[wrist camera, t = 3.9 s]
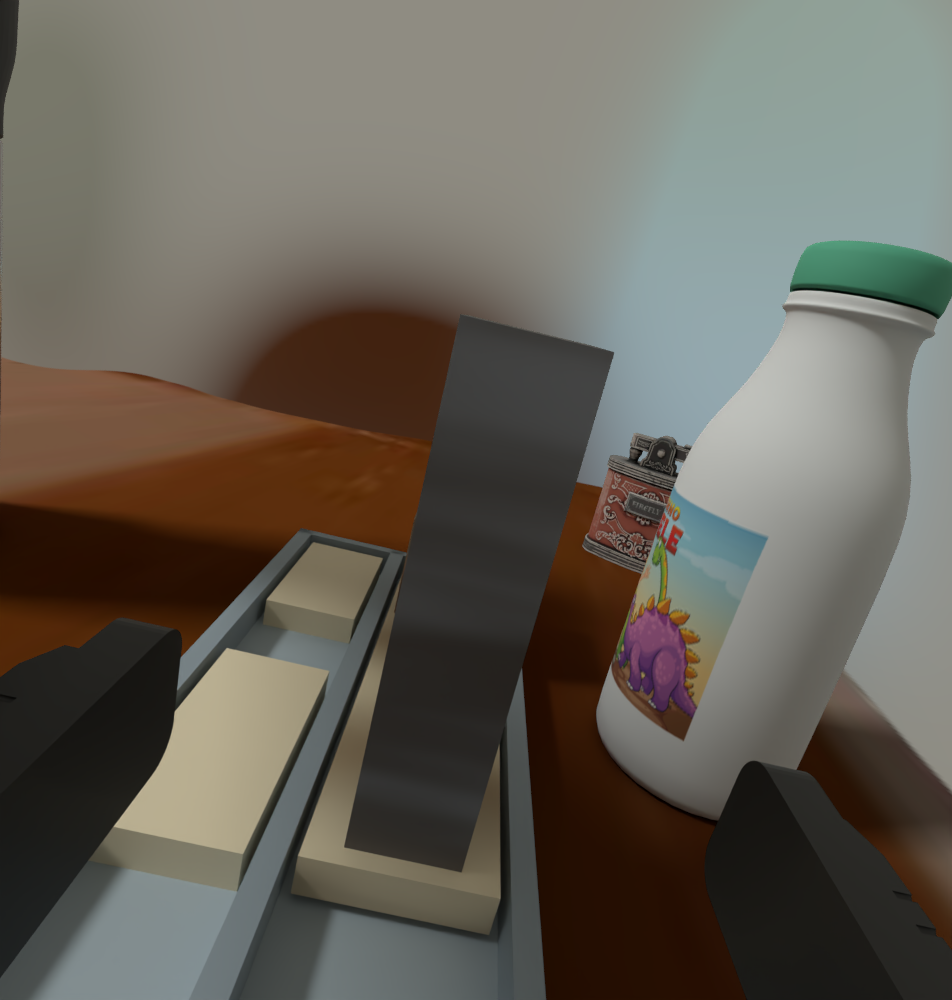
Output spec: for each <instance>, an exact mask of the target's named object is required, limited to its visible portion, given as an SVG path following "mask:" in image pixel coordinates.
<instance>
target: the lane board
mask: <svg viewBox="0 0 952 1000" xmlns="http://www.w3.org/2000/svg"><path fill="white" fill-rule="evenodd" d="M406 555H407V553H406V552H401V551H397V550H393V549H388V548H384V547H380V546H375V545H371V544H367V543H362V542H358V541H354V540H349V539H345V538H341V537H336V536H332V535H328V534H324V533H319V532H315V531H311V530H306V529H302V528H301V529H300V530H299V531H298V532H297V533H296V535H295V536H294V537H293V538H292V539H291V540H290V541H289V542H288V543H287V544H286V545H285V546H284V547H283V549H282V550H281V551H280V552H279V553H278V554H277V555H276V556H275V557H274V558H273V559H272V560H271V561H270V563H269V564H268V565H267V566H266V567H265V568H264V569H263V570H262V571H261V572H260V573H259V574H258V575H257V577H256V578H255V579H254V580H253V581H252V582H251V583H250V584H249V585H248V586H247V587H246V588H245V589H244V591H243V592H242V593H241V594H240V595H239V596H238V597H237V598H236V599H235V600H234V601H233V602H232V603H231V604H230V606H229V607H228V608H227V609H226V610H225V611H224V612H223V613H222V614H221V615H220V616H219V617H218V618H217V620H216V621H215V622H214V623H213V624H212V625H211V626H210V627H209V628H208V629H207V630H206V631H205V632H204V634H203V635H202V636H201V637H200V638H199V639H198V640H197V641H196V642H195V643H194V644H193V645H192V646H191V648H190V649H189V650H188V651H187V652H186V653H185V654H184V655H183V656H182V657H181V659H180V668H179V677H178V687H177V696H176V705H175V715H174V723H173V729H172V733H171V737H170V740H169V743H168V746H167V748H166V751H165V753H164V755H163V757H162V760H161V761H160V763H159V765H158V767H157V769H156V770H155V772H154V773H153V775H152V776H151V777H150V779H149V780H148V781H147V783H146V784H145V785H144V787H143V788H142V789H141V791H140V792H139V793H138V795H137V796H136V797H135V799H134V800H133V801H132V803H131V804H130V805H129V807H128V808H127V809H126V811H125V812H124V813H123V815H122V816H121V817H120V819H119V820H118V821H117V823H116V824H115V825H114V827H113V828H112V829H111V831H110V832H109V834H108V835H107V836H106V838H105V839H104V840H103V842H102V843H101V844H100V846H99V847H98V848H97V850H96V851H95V852H94V854H93V855H92V856H91V858H90V859H89V860H88V862H87V863H86V864H85V866H84V867H83V868H82V870H81V871H80V872H79V874H78V875H77V876H76V878H75V879H74V880H73V882H72V883H71V884H70V886H69V887H68V888H67V890H66V891H65V892H64V894H63V895H62V896H61V898H60V899H59V900H58V902H57V903H56V904H55V906H54V907H53V908H52V910H51V911H50V912H49V914H48V915H47V916H46V918H45V919H44V920H43V922H42V923H41V924H40V926H39V927H38V928H37V930H36V931H35V932H34V934H33V935H32V936H31V938H30V939H29V940H28V942H27V943H26V944H25V946H24V947H23V948H22V950H21V951H20V952H19V954H18V955H17V957H16V958H15V959H14V961H13V962H12V963H11V965H10V966H9V967H8V969H7V970H6V971H5V973H4V974H3V975H2V977H1V978H0V1000H546V993H545V979H544V965H543V952H542V938H541V924H540V910H539V897H538V883H537V869H536V855H535V842H534V828H533V814H532V800H531V787H530V773H529V759H528V745H527V732H526V718H525V704H524V690H523V677H522V669H521V672H520V675H519V679H518V682H517V686H516V689H515V692H514V696H513V699H512V703H511V706H510V709H509V713H508V716H507V720H506V723H505V726H504V730H503V733H502V737H501V740H500V743H499V744H500V883H501V899H500V902H499V906H498V909H497V912H496V915H495V918H494V921H493V924H492V927H491V930H490V933H489V935H486V934H481V933H477V932H472V931H467V930H462V929H457V928H453V927H448V926H443V925H438V924H434V923H429V922H424V921H419V920H415V919H410V918H405V917H400V916H396V915H391V914H386V913H381V912H377V911H372V910H367V909H362V908H357V907H353V906H348V905H343V904H338V903H334V902H329V901H324V900H319V899H315V898H310V897H305V896H300V895H296V894H291V889H292V884H293V879H294V874H295V868H296V863H297V858H298V854H299V852H300V849H301V846H302V844H303V841H304V838H305V835H306V833H307V830H308V827H309V825H310V822H311V819H312V816H313V814H314V811H315V808H316V806H317V803H318V800H319V797H320V795H321V792H322V789H323V787H324V784H325V781H326V779H327V776H328V773H329V770H330V768H331V765H332V762H333V760H334V757H335V754H336V751H337V749H338V746H339V743H340V741H341V738H342V735H343V732H344V730H345V727H346V724H347V722H348V719H349V716H350V714H351V711H352V708H353V705H354V703H355V700H356V697H357V695H358V692H359V689H360V686H361V684H362V681H363V678H364V676H365V673H366V670H367V668H368V665H369V662H370V659H371V657H372V654H373V651H374V649H375V646H376V643H377V640H378V638H379V635H380V632H381V630H382V627H383V624H384V621H385V619H386V616H387V613H388V611H389V608H390V605H391V603H392V600H393V597H394V594H395V592H396V589H397V586H398V584H399V581H400V578H401V575H402V573H403V569H404V564H405V560H406Z"/></svg>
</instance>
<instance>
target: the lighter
mask: <svg viewBox="0 0 952 1000" xmlns="http://www.w3.org/2000/svg"><path fill="white" fill-rule="evenodd" d="M630 446H631V448H630V457H629V458H626V457H622V456H617V455H611V456H610V458H609V461H608V465H607V466H608V467H609V469H608V473H607V476H606V479H605V482H604V485H603V489H602V492H601V495H600V498H599V502H598V505H597V508H596V511H595V515H594V518H593V521H592V524H591V528H590V531H589V534H586V536H585V539H584V543H583V548H584V549H585V550H587V551H589V552H591V553H593V554H595V555H597V556H599V557H601V558H604V559H606V560H608V561H610V562H613V563H615V564H618V565H620V566H623V567H625V568H627V569H630V570H633V571H636V572H639V573H641V574H642V572H643V569H644V566H645V564H646V561H647V558H648V555H649V552H650V549H651V547H652V544H653V541H654V538H655V535H656V532H657V530H658V527H659V524H660V521H661V518H662V515H663V513H664V510H665V507H666V505H667V502H668V500H669V497H670V495H671V492H672V490H673V487H674V484H675V482H676V479H677V477H678V474H679V473H676V469H677V466H676V465H675V460H676V461H679V462H682V463H684V462H685V460H686V458H687V456H688V454H689V452H690V450H691V448H692V447H693V446H689V445H685V446H684V447H683V446H679V445H677V443H676V440H675V439H674V438H673V437H669V436H663V437H660V438H658V439H656V438H653V437H649V436H646V435H643V434H639V433H634V435H633V438H632V442H631V445H630ZM643 451H646V452H648V454H647V456H646V458H644V459H642V461H641V462H640V461H638V459H639V457H640V456H641V455H642V452H643Z"/></svg>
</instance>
